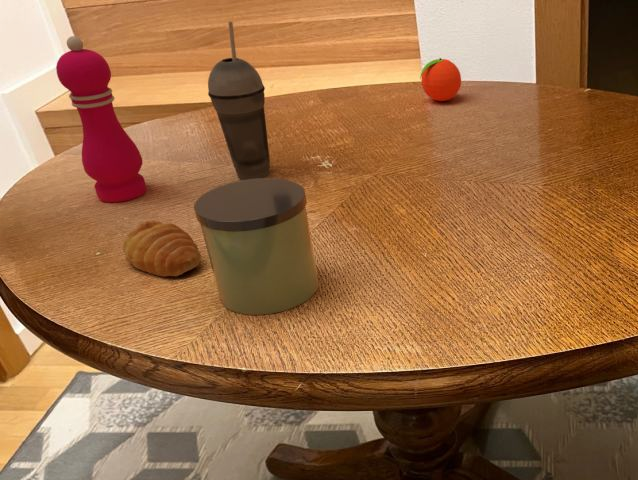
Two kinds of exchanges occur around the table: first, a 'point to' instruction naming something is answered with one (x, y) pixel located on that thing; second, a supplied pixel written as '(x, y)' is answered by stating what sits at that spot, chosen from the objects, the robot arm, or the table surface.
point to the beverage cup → (241, 113)
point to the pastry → (161, 249)
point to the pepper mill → (100, 125)
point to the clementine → (441, 79)
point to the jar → (259, 244)
